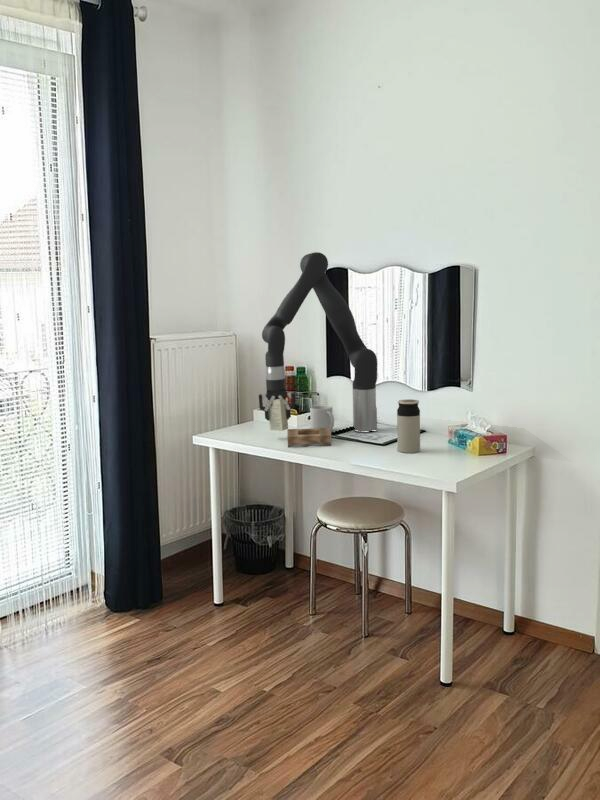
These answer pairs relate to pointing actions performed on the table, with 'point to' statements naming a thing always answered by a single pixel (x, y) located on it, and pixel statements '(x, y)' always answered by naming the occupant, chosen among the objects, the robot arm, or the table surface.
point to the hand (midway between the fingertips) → (278, 419)
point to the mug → (322, 417)
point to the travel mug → (408, 426)
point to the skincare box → (277, 415)
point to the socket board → (309, 437)
